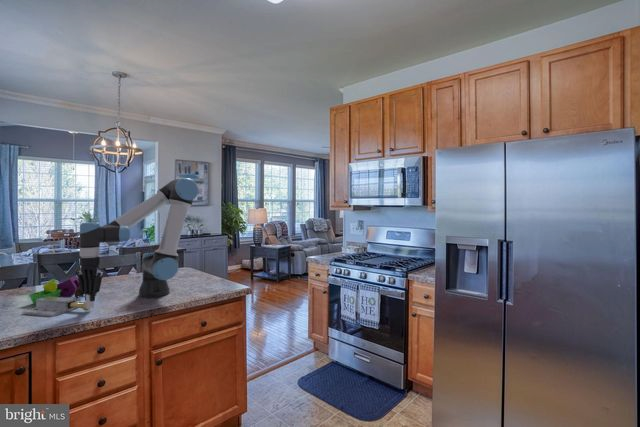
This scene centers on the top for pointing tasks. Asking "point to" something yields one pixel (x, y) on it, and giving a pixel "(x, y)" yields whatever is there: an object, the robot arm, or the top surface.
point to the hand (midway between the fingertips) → (90, 308)
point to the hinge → (51, 306)
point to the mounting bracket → (68, 287)
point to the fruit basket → (46, 291)
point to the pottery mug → (79, 293)
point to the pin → (78, 305)
